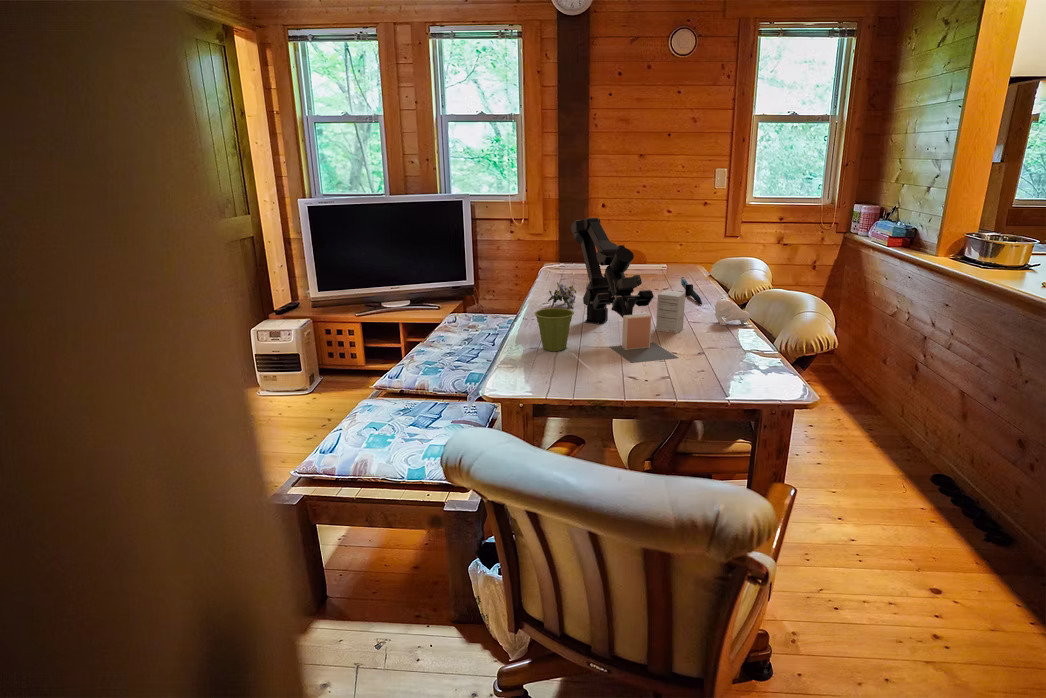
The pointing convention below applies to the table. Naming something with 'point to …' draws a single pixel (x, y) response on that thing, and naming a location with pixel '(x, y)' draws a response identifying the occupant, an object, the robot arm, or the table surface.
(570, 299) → the passion flower
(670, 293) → the supplement box
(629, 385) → the table surface
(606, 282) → the robot arm
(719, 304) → the white animal figurine
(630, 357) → the mat
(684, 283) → the knife
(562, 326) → the plant pot
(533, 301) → the table surface
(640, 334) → the white and orange box
